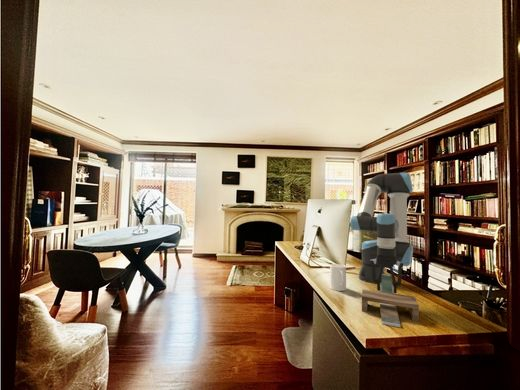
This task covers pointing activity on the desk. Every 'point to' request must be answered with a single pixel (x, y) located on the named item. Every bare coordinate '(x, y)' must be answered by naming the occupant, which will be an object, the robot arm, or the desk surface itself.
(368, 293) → the riser
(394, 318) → the tile
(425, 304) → the desk surface
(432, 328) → the desk surface
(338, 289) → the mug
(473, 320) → the desk surface
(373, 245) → the robot arm
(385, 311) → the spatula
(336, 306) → the desk surface
